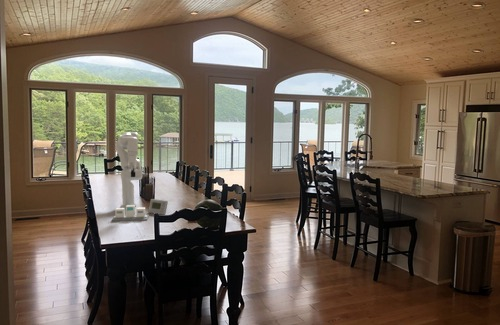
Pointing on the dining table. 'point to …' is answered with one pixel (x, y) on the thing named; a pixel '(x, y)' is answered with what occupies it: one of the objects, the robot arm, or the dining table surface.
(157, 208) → the digital clock
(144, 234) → the dining table surface
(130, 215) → the module
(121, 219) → the rail panel
